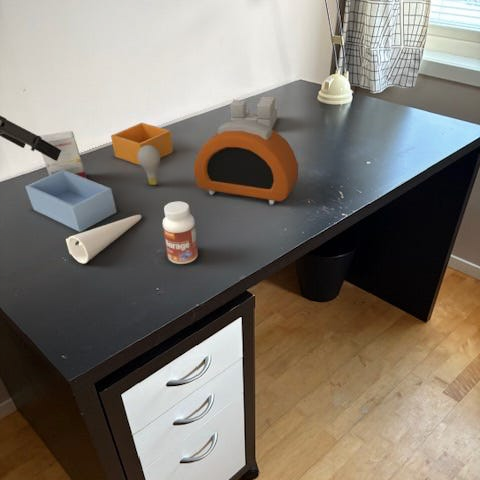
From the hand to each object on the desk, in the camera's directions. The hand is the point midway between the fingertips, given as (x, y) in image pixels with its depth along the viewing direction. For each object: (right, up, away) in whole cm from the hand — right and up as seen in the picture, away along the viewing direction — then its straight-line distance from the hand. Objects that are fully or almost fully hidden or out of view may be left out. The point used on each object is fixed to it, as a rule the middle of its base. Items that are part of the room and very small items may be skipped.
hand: (41, 149), depth 114 cm
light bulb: (+26, -7, +7) cm, 27 cm away
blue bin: (+9, -15, -2) cm, 18 cm away
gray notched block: (+52, +20, +35) cm, 66 cm away
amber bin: (+20, +6, +21) cm, 30 cm away
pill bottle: (+36, -28, -17) cm, 49 cm away
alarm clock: (+49, -10, +2) cm, 50 cm away
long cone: (+21, -24, -12) cm, 34 cm away
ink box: (+3, -5, +10) cm, 12 cm away
